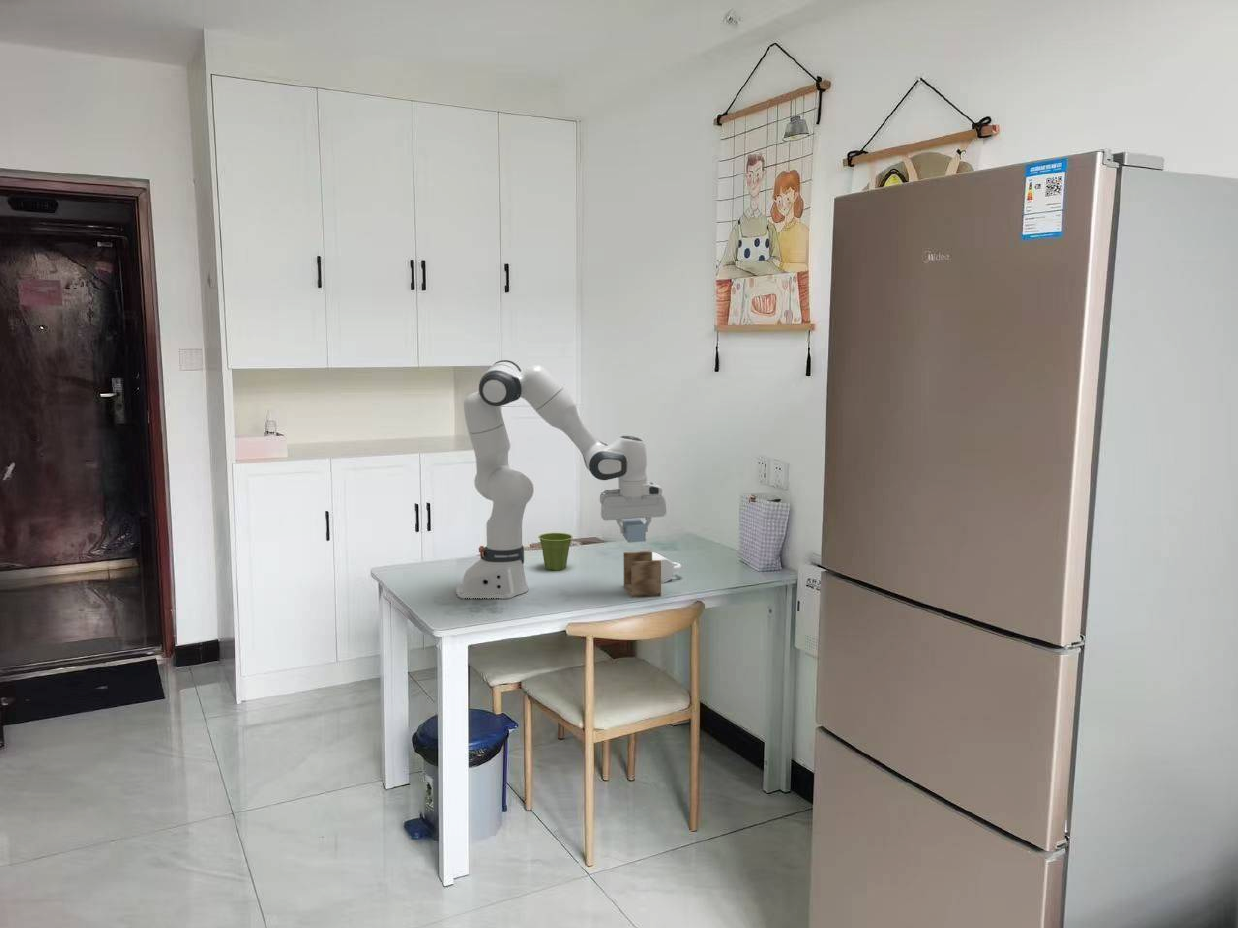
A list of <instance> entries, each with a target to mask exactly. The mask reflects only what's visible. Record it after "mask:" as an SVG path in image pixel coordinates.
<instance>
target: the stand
mask: <svg viewBox="0 0 1238 928" xmlns="http://www.w3.org/2000/svg"><path fill="white" fill-rule="evenodd" d="M652 552H653V551H651V550H644V551H643V550H642V551H641V550H640V551H625V552H624V551H623V587H624V589H625V590H626V591H627V593H628V594H629V595H630V596H631V598H634V597H637V598H649V597H650V598H652V597H661V596H662V588H661V587H662V583H661V561H660V560H652ZM634 599H635V598H634Z"/></svg>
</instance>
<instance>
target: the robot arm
mask: <svg viewBox="0 0 1238 928" xmlns="http://www.w3.org/2000/svg"><path fill="white" fill-rule="evenodd" d="M478 383H479V384H478V390H477V391H475V392H472V393H470V394H469V395H468V396H467V397H466V398H465V399H464V402H463V410H464V417H465V418H464V419H465V423H466V428H467V432H468V435H469V437H470V441H471V445H472V448H473V451H474V456H475V464H476V466H475V467H476V474H475V476H474V481H473V482H474V488H475V489H476V490H477V491H476V492H478V493H479V494H480V495H481V496H482V497H484V498H485V499H487V500H488V501H492V503H493V504H492V509H491V514H490V517H489V519H488V520H487V521H486V525H485V526H486V546H484V545H480V546H479V547H478V552H479V553H480V559H478V560H477V561H476V562H475V563H474V564H473V565H472V566H470V567H469V568H468V569H467V570H466V571H465V573H464V575H463V578H462V584H459V585H458V586H456V590H455V594H457V595H456V596H457V597H458V598H460V599H463V600H464V599H465V598H466V599H467V598H468V599H469V598H470V599H473V598H474V599H473V600H475V598H476V600H478V599H479V598H480V599H482V598H483V599H484V598H485V599H486V598H487V600H488V599H491V598H492V599H493V598H494V599H496V598H497V599H498V598H499V599H503V600H504V599H505V600H506V599H511V598H514V597H515V596H519V595H522V594H525V593H527V592H528V591H529V587H528V583H527V580H526V576H525V575H526V574H525V567H524V563H525V549H524V545H523V520H524V514H525V511H526V507H527V504H528V503H529V502H530V501H531V499H532V498H533V495H534V484H533V482H532V480H531V479H530V478H529V477H528V476H527V475H525V474H524V473H523V472H521V471H519V470H515V469H511V467H510V465H509V451H510V449H511V443H510V440H509V435H508V432H507V429H506V425H505V421H504V418H503V414H502V411H501V410H502V409H501V407H502V406H505V405H508V404H510V403H513V402H515V401H518V400H519V399H520V398H522V399H524V400H525V401H526V402H528V404H529V405H530V406H531V407H532V409H533V410H534V411H535V413H537V415H538V416H540V418H541V419H542V420H543V421H545V423H547V424H549V426H551V427H552V428H556V429H558V430H560V431H561V432H563V433H564V434H565V435H566V436H567V437H568V438H569V439H570V440H571V441H572V443H573V444H574V445H575V447H577V449H578V450H579V451H580V453H581V454H582V457H583V461H584V465H585V467H586V468H587V470H588V472H590V474H591V475H592V477H594V478H595V479H597V480H600V481H609V480H613V479H616V478H617V480H618V489H616V488H615V489H610V490H609V489H605V490H604V491H602V492H601V493H600V495H599V502H600V504H601V505H600V518H602V520H604V521H616V524H617V525H618V526H619V531H620V534H622V535H623V533H626V528H625V527H622V520H627V519H644V520H646V521H645V523H644V524H645V526H646V533H647V532H649V526H650V524H651V522H652V518H664V517H665V516H666V515H667V503H666V499H665V496H664V495H663V494H662V493H663V487H661V486H660V485H659V484H657V483H654V482H650V481H648V476H647V471H646V470H647V463H648V460H647V450H646V449H647V448H646V444H645V442H644V441H643V440H642V439H641V438H639V437H636V436H633V435H622V436H619V437H618V438H617V439H616V440H615V441H614V442H612V443H610V444H606V443H604V442H602V441H600V440H598V439H597V437H595V435H594V434H593V433H592V432H591V431H590V430H589V429H588V427H587V426H586V425H585V423H583V421H582V419H581V418H580V416H579V413H578V410H577V406H576V403H575V402H574V400H573V399H572V397H571V395H570V394H569V392H568V391H567V390H566V389H565V387H564V386H563V384H562V383H561V382H560V381H559V380H558V379H557V378H556V377H555V376H554V375H553V374H552V373H550V372H549V371H548V369H546V368H545V367H544V366H542V365H539V364H534V365H530V366H528V367H526V368H525V369H523V370H522V369H521V368H520V366H519V365H518V364H517V363H515V362H514V361H512V360H507V359H502V360H498V361H496V362H495V363H494V364H492V365H491V366H490V367H488V368H487V369H486V370H485V372H484V374H483V375H482V376H481V379H480V381H479V382H478ZM477 598H478V599H477ZM466 599H465V600H466ZM468 599H467V600H468ZM470 599H469V600H470ZM497 599H496V600H497ZM499 599H498V600H499Z"/></svg>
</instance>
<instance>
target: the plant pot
mask: <svg viewBox="0 0 1238 928" xmlns="http://www.w3.org/2000/svg"><path fill="white" fill-rule="evenodd" d="M537 538H538V539H539V541H540V542H539V543H540V545H541V549H542V550H541V551H542V556H543V557H542V558H543V563H544V569H545V570H548V571H550V570H552V571H563V570H565V569H566V568H567V562H568V558H569V550H570V546H571V543H572V539H573V538H574V537H573V535H572V534H570V533H566V532H548V533H547V532H546V533H543V534H540V535H538V537H537Z"/></svg>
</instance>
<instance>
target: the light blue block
mask: <svg viewBox="0 0 1238 928" xmlns="http://www.w3.org/2000/svg"><path fill="white" fill-rule="evenodd" d="M621 525H622V527H625V528H626V533H622V536H623V538H624V539H625V540H626V542H627V543H642V542H647V537H646V536H647V535H646V533H647V532H646V526H645V523H644V522H643V520H641V518H636V519H622V523H621Z"/></svg>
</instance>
